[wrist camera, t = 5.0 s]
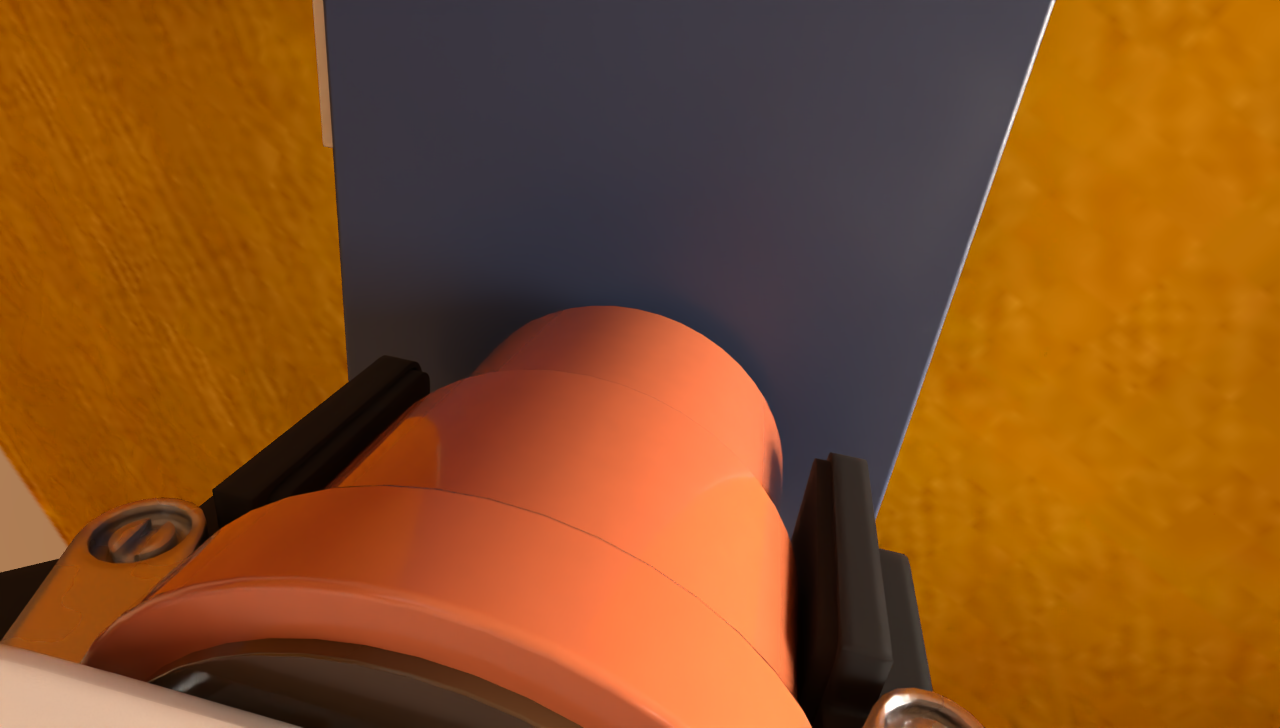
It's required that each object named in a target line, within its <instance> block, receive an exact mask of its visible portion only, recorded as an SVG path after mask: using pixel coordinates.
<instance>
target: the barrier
mask: <svg viewBox="0 0 1280 728" xmlns="http://www.w3.org/2000/svg"><path fill="white" fill-rule="evenodd" d="M1055 1H1056V0H313V13H314V27H315V40H316V54H317V68H318V81H319V95H320V109H321V122H322V136H323V146H325V147H330V148H333V157H334V172H335V187H336V202H337V217H338V232H339V246H340V261H341V276H342V291H343V306H344V320H345V335H346V350H347V365H348V380H349V381H351V380H352V379H353V378H354V377H356V376H357V375H358V374H359V373H361V372H362V371H363V370H364V369H366V368H367V367H368V366H370V365H371V364H372V363H373V362H375V361H376V360H377V359H378V358H380V357H381V356H383V355H388V356H393V357H397V358H402V359H406V360H411V361H416V362H418V363H419V364H420V367H421V370H422V372H426V373H427V374H428V375H429V378H430V393H432V392H434V391H435V390H437V389H439V388H442V387H444V386H447V385H449V384H452V383H454V382H457V381H459V380H462V379H465V378H468V376H469V375H470V374H471V373H472V372H473V371H474V370H475V369H476V368H477V367H478V366H479V365H480V364H481V363H482V362H483V361H484V360H485V359H486V358H487V357H488V355H489V354H490V353H491V352H492V351H493V350H494V349H495V348H496V347H497V346H498V345H499V344H500V343H501V342H502V341H504V340H505V339H506V338H507V337H508V336H510V335H511V334H512V333H513V332H514V331H516V330H518V329H519V328H521V327H523V326H524V325H526V324H528V323H529V322H531V321H533V320H536V319H538V318H541V317H543V316H545V315H548V314H550V313H554V312H558V311H562V310H566V309H570V308H577V307H586V306H619V307H626V308H633V309H639V310H643V311H647V312H651V313H655V314H658V315H662V316H664V317H667V318H669V319H672V320H674V321H677V322H679V323H682V324H684V325H686V326H687V327H689V328H691V329H693V330H695V331H697V332H698V333H700V334H702V335H704V336H705V337H706V338H708V339H709V340H711V341H712V342H713V343H715V344H716V345H718V346H719V347H721V348H722V349H723V350H724V351H725V352H726V353H727V354H728V355H730V356H731V357H732V358H733V359H734V360H735V361H736V362H737V363H738V364H739V365H740V366H741V367H742V368H743V369H744V371H745V372H746V373H747V374H748V375H749V377H750V378H751V379H752V380H753V381H754V383H755V384H756V386H757V387H758V389H759V391H760V392H761V394H762V395H763V397H764V398H765V400H766V402H767V404H768V407H769V409H770V411H771V413H772V415H773V417H774V420H775V423H776V427H777V430H778V433H779V437H780V442H781V449H782V456H783V470H782V491H781V508H780V518H781V520H782V522H783V524H784V526H785V528H786V530H787V532H788V535H789V539H790V542H791V538H792V535H793V531H794V528H795V524H796V521H797V517H798V514H799V510H800V507H801V503H802V500H803V496H804V493H805V489H806V485H807V482H808V478H809V475H810V471H811V468H812V465H813V462H814V459H815V458H818V459H822V460H827V458H828V455H829V454H830V452H833V453H837V454H842V455H847V456H851V457H856V458H860V459H865V460H867V463H868V470H869V477H870V485H871V493H872V501H873V508H874V516H875V520H876V517H877V514H878V511H879V508H880V506H881V503H882V500H883V497H884V494H885V491H886V488H887V485H888V482H889V480H890V477H891V474H892V471H893V468H894V465H895V462H896V459H897V457H898V454H899V451H900V448H901V445H902V442H903V439H904V436H905V433H906V431H907V428H908V425H909V422H910V419H911V416H912V413H913V410H914V407H915V405H916V402H917V399H918V396H919V393H920V390H921V387H922V384H923V381H924V379H925V376H926V373H927V370H928V367H929V364H930V361H931V358H932V356H933V353H934V350H935V347H936V344H937V341H938V338H939V335H940V332H941V330H942V327H943V324H944V321H945V318H946V315H947V312H948V309H949V306H950V304H951V301H952V298H953V295H954V292H955V289H956V286H957V283H958V280H959V278H960V275H961V272H962V269H963V266H964V263H965V260H966V257H967V255H968V252H969V249H970V246H971V243H972V240H973V237H974V234H975V231H976V229H977V226H978V223H979V220H980V217H981V214H982V211H983V208H984V205H985V203H986V200H987V197H988V194H989V191H990V188H991V185H992V182H993V179H994V177H995V174H996V171H997V168H998V165H999V162H1000V159H1001V156H1002V154H1003V151H1004V148H1005V145H1006V142H1007V139H1008V136H1009V133H1010V130H1011V128H1012V125H1013V122H1014V119H1015V116H1016V113H1017V110H1018V107H1019V104H1020V102H1021V99H1022V96H1023V93H1024V90H1025V87H1026V84H1027V81H1028V78H1029V76H1030V73H1031V70H1032V67H1033V64H1034V61H1035V58H1036V55H1037V53H1038V50H1039V47H1040V44H1041V41H1042V38H1043V35H1044V32H1045V29H1046V27H1047V24H1048V21H1049V18H1050V15H1051V12H1052V9H1053V6H1054V3H1055Z"/></svg>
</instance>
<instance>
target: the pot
mask: <svg viewBox="0 0 1280 728" xmlns="http://www.w3.org/2000/svg"><path fill="white" fill-rule="evenodd" d="M782 470H783V456H782V449H781V442H780V437H779V433H778V430H777V427H776V423H775V420H774V417H773V415H772V413H771V411H770V409H769V407H768V404H767V402H766V400H765V398H764V397H763V395H762V394H761V392H760V391H759V389H758V387H757V386H756V384H755V383H754V381H753V380H752V379H751V378H750V377H749V375H748V374H747V373H746V372H745V371H744V369H743V368H742V367H741V366H740V365H739V364H738V363H737V362H736V361H735V360H734V359H733V358H732V357H731V356H730V355H728V354H727V353H726V352H725V351H724V350H723V349H722V348H721V347H719V346H718V345H716V344H715V343H713V342H712V341H711V340H709V339H708V338H706V337H705V336H704V335H702V334H700V333H698V332H697V331H695V330H693V329H691V328H689V327H687V326H686V325H684V324H682V323H679V322H677V321H674V320H672V319H669V318H667V317H664V316H662V315H658V314H655V313H651V312H647V311H643V310H639V309H633V308H626V307H619V306H586V307H577V308H570V309H566V310H562V311H558V312H554V313H550V314H548V315H545V316H543V317H541V318H538V319H536V320H533V321H531V322H529V323H528V324H526V325H524V326H523V327H521V328H519V329H518V330H516V331H514V332H513V333H512V334H511V335H510V336H508V337H507V338H506V339H505V340H504V341H502V342H501V343H500V344H499V345H498V346H497V347H496V348H495V349H494V350H493V351H492V352H491V353H490V354H489V355H488V357H487V358H486V359H485V360H484V361H483V362H482V363H481V364H480V365H479V366H478V367H477V368H476V369H475V370H474V371H473V372H472V373H471V374H470V375H469V376H468V378H465V379H462V380H459V381H457V382H454V383H452V384H449V385H447V386H444V387H442V388H439V389H437V390H435V391H434V392H432V393H430V394H429V395H427V396H425V397H423V398H422V399H420V400H418V401H417V402H415V403H414V404H413V405H411V406H410V407H409V408H408V409H407V410H405V411H404V412H403V413H402V414H401V415H400V416H398V417H397V418H396V419H395V420H394V421H393V422H392V423H391V424H390V425H389V426H388V427H387V428H386V429H385V430H384V431H383V432H382V433H380V434H379V435H378V436H377V437H376V438H375V439H374V440H373V441H372V442H371V443H370V444H369V445H368V446H367V447H366V448H365V449H364V450H363V451H362V452H361V453H360V454H359V455H358V456H357V457H356V458H355V459H354V460H353V461H352V462H350V463H349V464H348V465H347V466H346V467H345V468H344V469H343V470H342V471H341V472H340V473H339V474H338V475H337V476H336V477H335V478H334V479H333V480H332V481H331V482H330V483H329V484H328V485H327V486H326V487H325V488H324V489H323V490H320V491H314V492H309V493H304V494H299V495H294V496H291V497H287V498H285V499H282V500H279V501H276V502H274V503H271V504H268V505H265V506H263V507H260V508H257V509H254V510H252V511H250V512H248V513H246V514H244V515H243V516H241V517H239V518H238V519H236V520H234V521H232V522H231V523H229V524H227V525H226V526H224V527H222V528H220V529H219V530H218V531H217V532H216V533H214V534H213V535H212V536H211V537H210V538H209V539H207V540H206V541H205V542H204V543H203V544H202V545H201V546H199V547H198V548H197V549H196V550H195V551H194V552H192V553H191V554H190V555H189V556H188V557H187V558H185V559H184V560H183V561H182V562H181V563H180V564H179V565H177V566H176V567H175V568H174V569H173V570H172V571H170V572H169V573H168V574H167V575H166V576H165V577H164V578H162V579H161V580H160V581H159V582H158V583H157V584H155V585H154V586H153V587H152V588H151V589H150V590H149V591H147V592H146V593H145V594H144V595H143V596H142V597H140V598H139V599H138V600H137V601H136V602H135V603H133V604H132V605H131V606H130V607H129V608H128V609H127V610H125V611H124V612H123V613H122V614H121V615H120V616H119V617H117V618H116V619H115V620H114V621H113V622H112V623H111V624H110V625H109V626H107V627H106V628H105V629H104V630H103V631H102V632H101V633H100V634H98V635H97V637H96V638H95V640H94V641H93V643H92V644H91V646H90V647H89V648H88V650H87V651H86V653H85V654H84V656H83V657H82V659H81V660H80V662H79V664H82V665H86V666H89V667H93V668H97V669H101V670H104V671H108V672H112V673H115V674H119V675H123V676H126V677H130V678H133V679H137V680H140V681H144V682H147V683H150V684H154V685H157V686H161V687H164V688H168V689H171V690H175V691H178V692H182V693H185V694H189V695H192V696H196V697H199V698H202V699H206V700H209V701H213V702H216V703H220V704H223V705H227V706H230V707H234V708H237V709H241V710H244V711H247V712H251V713H254V714H258V715H261V716H265V717H268V718H272V719H275V720H279V721H282V722H286V723H289V724H292V725H296V726H299V727H303V728H812V727H811V725H810V723H809V721H808V719H807V717H806V715H805V713H804V711H803V709H802V707H801V706H800V705H799V703H798V702H797V672H798V619H799V579H798V572H797V565H796V558H795V555H794V552H793V548H792V545H791V542H790V539H789V535H788V532H787V530H786V528H785V526H784V524H783V522H782V520H781V518H780V508H781V491H782Z"/></svg>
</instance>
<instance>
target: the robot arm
mask: <svg viewBox="0 0 1280 728" xmlns="http://www.w3.org/2000/svg"><path fill="white" fill-rule="evenodd" d="M429 394H430V378H429V375H428V374H427V373H426V372H422V370H421V367H420V364H419V363H418V362H416V361H411V360H406V359H402V358H397V357H393V356H388V355H383V356H381V357H380V358H378V359H377V360H376V361H375V362H373V363H372V364H371V365H370V366H368V367H367V368H366V369H364V370H363V371H362V372H361V373H359V374H358V375H357V376H356V377H354V378H353V379H352V380H351V381H349V382H348V383H347V384H345V385H344V386H343V387H342V388H340V389H339V390H338V391H337V392H335V393H334V394H333V395H332V396H330V397H329V398H328V399H326V400H325V401H324V402H323V403H321V404H320V405H319V406H318V407H316V408H315V409H314V410H313V411H311V412H310V413H309V414H308V415H306V416H305V417H304V418H302V419H301V420H300V421H299V422H297V423H296V424H295V425H294V426H292V427H291V428H290V429H289V430H287V431H286V432H285V433H283V434H282V435H281V436H280V437H278V438H277V439H276V440H275V441H273V442H272V443H271V444H270V445H268V446H267V447H266V448H264V449H263V450H262V451H261V452H259V453H258V454H257V455H256V456H254V457H253V458H252V459H251V460H249V461H248V462H247V463H246V464H244V465H243V466H242V467H240V468H239V469H238V470H237V471H235V472H234V473H233V474H232V475H230V476H229V477H228V478H227V479H225V480H224V481H223V482H221V483H220V484H219V485H218V486H216V487H215V488H214V489H213V490H212V492H213V496H212V497H211V498H209V499H208V500H207V501H206V502H204V503H203V504H202V505H201V506H199V507H198V506H196V505H195V504H194V503H192V502H189V501H185V500H182V499H178V498H164V497H161V498H152V499H143V500H139V501H135V502H131V503H127V504H123V505H121V506H118V507H116V508H114V509H111V510H109V511H107V512H104V513H103V514H101V515H100V516H98V517H96V518H95V519H93V520H92V521H90V522H89V523H88V524H87V525H86V526H85V527H84V528H83V529H82V530H81V531H80V532H79V533H78V534H77V535H76V536H75V538H74V539H73V541H72V542H71V543H70V545H69V546H68V548H67V549H66V550H65V552H64V553H63V555H62V556H61V557H60V559H56V560H52V561H48V562H44V563H39V564H35V565H31V566H27V567H22V568H18V569H14V570H10V571H5V572H1V573H0V728H303V727H299V726H296V725H292V724H289V723H286V722H282V721H279V720H275V719H272V718H268V717H265V716H261V715H258V714H254V713H251V712H247V711H244V710H241V709H237V708H234V707H230V706H227V705H223V704H220V703H216V702H213V701H209V700H206V699H202V698H199V697H196V696H192V695H189V694H185V693H182V692H178V691H175V690H171V689H168V688H164V687H161V686H157V685H154V684H150V683H147V682H144V681H140V680H137V679H133V678H130V677H126V676H123V675H119V674H115V673H112V672H108V671H104V670H101V669H97V668H93V667H89V666H86V665H82V664H79V662H80V660H81V659H82V657H83V656H84V654H85V653H86V651H87V650H88V648H89V647H90V646H91V644H92V643H93V641H94V640H95V638H96V637H97V635H98V634H100V633H101V632H102V631H103V630H104V629H105V628H106V627H107V626H109V625H110V624H111V623H112V622H113V621H114V620H115V619H116V618H117V617H119V616H120V615H121V614H122V613H123V612H124V611H125V610H127V609H128V608H129V607H130V606H131V605H132V604H133V603H135V602H136V601H137V600H138V599H139V598H140V597H142V596H143V595H144V594H145V593H146V592H147V591H149V590H150V589H151V588H152V587H153V586H154V585H155V584H157V583H158V582H159V581H160V580H161V579H162V578H164V577H165V576H166V575H167V574H168V573H169V572H170V571H172V570H173V569H174V568H175V567H176V566H177V565H179V564H180V563H181V562H182V561H183V560H184V559H185V558H187V557H188V556H189V555H190V554H191V553H192V552H194V551H195V550H196V549H197V548H198V547H199V546H201V545H202V544H203V543H204V542H205V541H206V540H207V539H209V538H210V537H211V536H212V535H213V534H214V533H216V532H217V531H218V530H219V529H220V528H222V527H224V526H226V525H227V524H229V523H231V522H232V521H234V520H236V519H238V518H239V517H241V516H243V515H244V514H246V513H248V512H250V511H252V510H254V509H257V508H260V507H263V506H265V505H268V504H271V503H274V502H276V501H279V500H282V499H285V498H287V497H291V496H294V495H299V494H304V493H309V492H314V491H320V490H323V489H324V488H325V487H326V486H327V485H328V484H329V483H330V482H331V481H332V480H333V479H334V478H335V477H336V476H337V475H338V474H339V473H340V472H341V471H342V470H343V469H344V468H345V467H346V466H347V465H348V464H349V463H350V462H352V461H353V460H354V459H355V458H356V457H357V456H358V455H359V454H360V453H361V452H362V451H363V450H364V449H365V448H366V447H367V446H368V445H369V444H370V443H371V442H372V441H373V440H374V439H375V438H376V437H377V436H378V435H379V434H380V433H382V432H383V431H384V430H385V429H386V428H387V427H388V426H389V425H390V424H391V423H392V422H393V421H394V420H395V419H396V418H397V417H398V416H400V415H401V414H402V413H403V412H404V411H405V410H407V409H408V408H409V407H410V406H411V405H413V404H414V403H415V402H417V401H418V400H420V399H422V398H423V397H425V396H427V395H429ZM791 545H792V548H793V552H794V555H795V558H796V565H797V572H798V579H799V619H798V672H797V702H798V703H799V705H800V706H801V707H802V709H803V711H804V713H805V715H806V717H807V719H808V721H809V723H810V725H811V727H812V728H985V727H984V726H983V725H982V724H981V723H980V722H979V721H978V720H977V719H976V718H975V717H974V716H973V715H972V714H971V713H969V712H968V711H967V710H965V709H964V708H962V707H961V706H959V705H958V704H957V703H955V702H954V701H952V700H950V699H948V698H946V697H943V696H941V695H939V694H937V693H934V692H933V689H932V684H931V678H930V673H929V667H928V662H927V656H926V651H925V645H924V640H923V635H922V629H921V624H920V618H919V613H918V607H917V602H916V596H915V591H914V585H913V580H912V574H911V569H910V564H909V561H908V558H907V557H906V556H905V555H904V554H901V553H896V552H892V551H888V550H883V549H879V547H878V539H877V532H876V524H875V516H874V508H873V501H872V493H871V485H870V477H869V470H868V463H867V460H865V459H860V458H856V457H851V456H847V455H842V454H837V453H833V452H830V454H829V455H828V458H827V460H822V459H818V458H815V459H814V462H813V465H812V468H811V471H810V475H809V478H808V482H807V485H806V489H805V493H804V496H803V500H802V503H801V507H800V510H799V514H798V517H797V521H796V524H795V528H794V531H793V535H792V538H791Z"/></svg>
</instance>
